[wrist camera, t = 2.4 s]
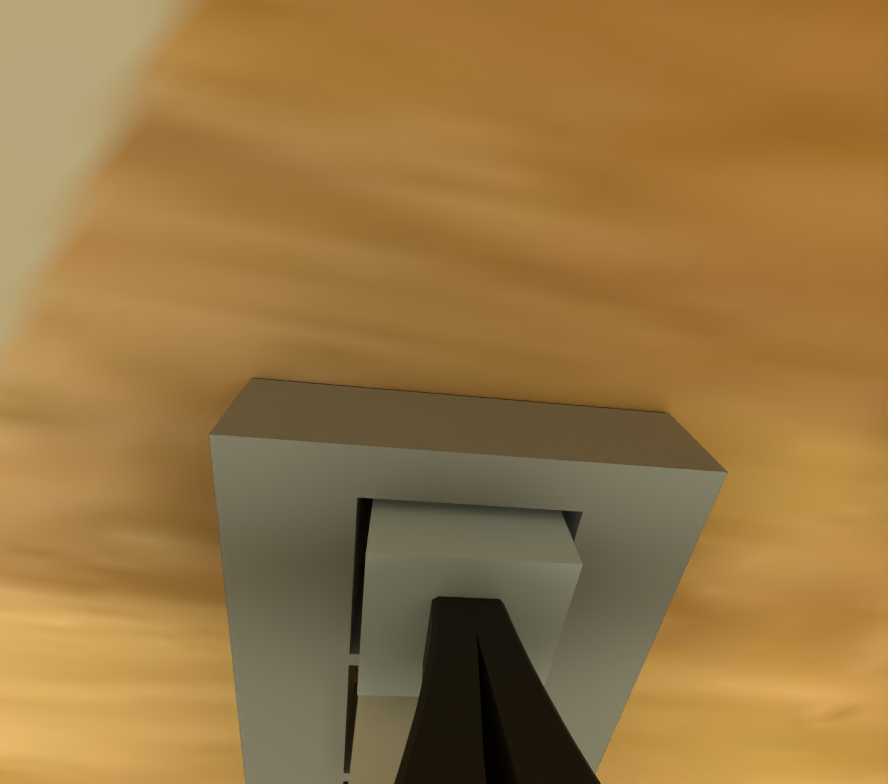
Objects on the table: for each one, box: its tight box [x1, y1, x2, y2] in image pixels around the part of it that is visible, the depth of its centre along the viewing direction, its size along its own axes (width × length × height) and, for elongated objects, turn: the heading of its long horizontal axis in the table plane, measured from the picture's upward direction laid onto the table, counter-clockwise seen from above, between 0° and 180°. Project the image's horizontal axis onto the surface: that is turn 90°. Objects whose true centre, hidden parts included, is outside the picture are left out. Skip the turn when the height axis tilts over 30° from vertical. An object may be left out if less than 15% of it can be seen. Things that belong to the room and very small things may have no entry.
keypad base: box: [209, 378, 728, 784], centre depth 14 cm, size 17×10×2 cm, turn 173°
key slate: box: [357, 498, 583, 697], centre depth 11 cm, size 4×4×3 cm
